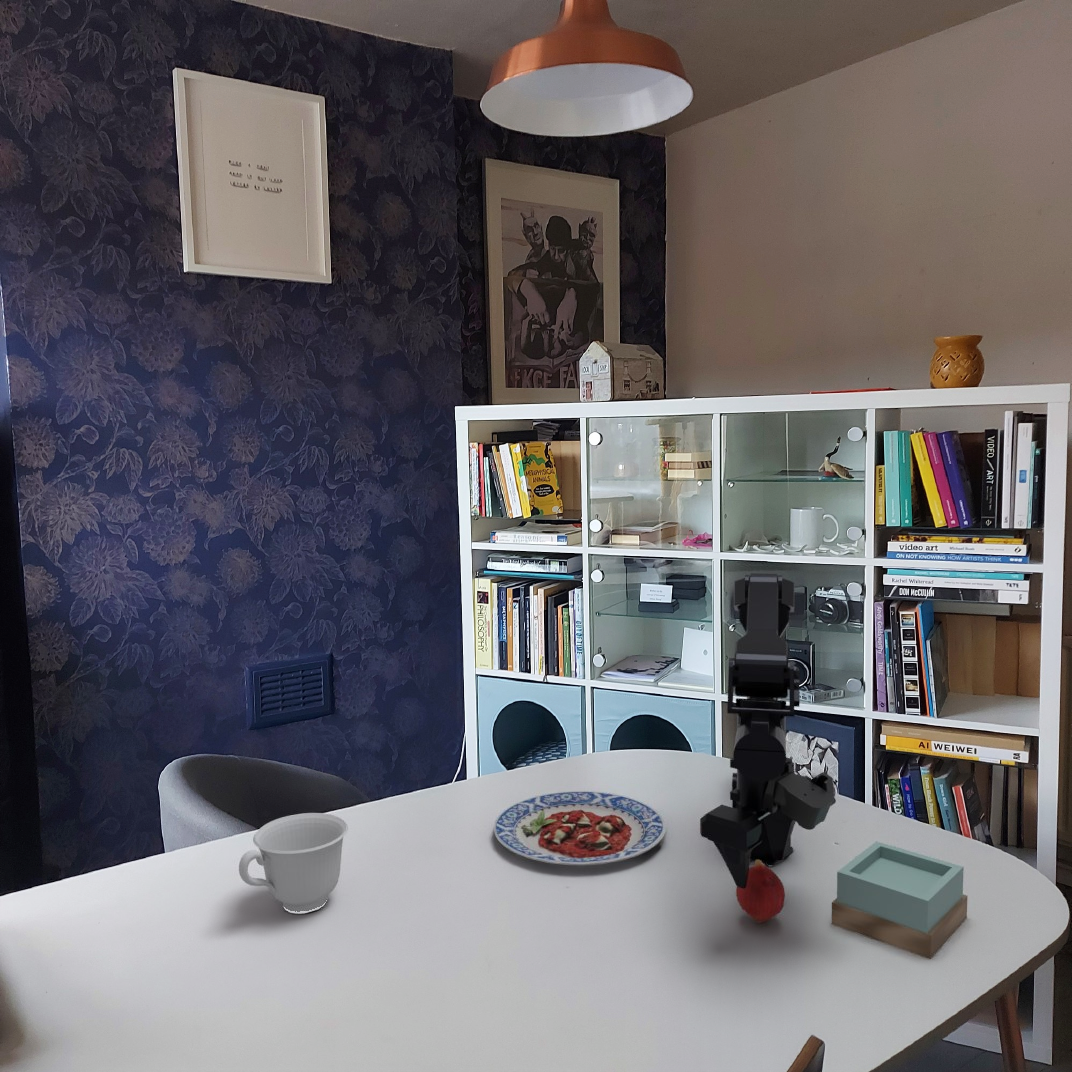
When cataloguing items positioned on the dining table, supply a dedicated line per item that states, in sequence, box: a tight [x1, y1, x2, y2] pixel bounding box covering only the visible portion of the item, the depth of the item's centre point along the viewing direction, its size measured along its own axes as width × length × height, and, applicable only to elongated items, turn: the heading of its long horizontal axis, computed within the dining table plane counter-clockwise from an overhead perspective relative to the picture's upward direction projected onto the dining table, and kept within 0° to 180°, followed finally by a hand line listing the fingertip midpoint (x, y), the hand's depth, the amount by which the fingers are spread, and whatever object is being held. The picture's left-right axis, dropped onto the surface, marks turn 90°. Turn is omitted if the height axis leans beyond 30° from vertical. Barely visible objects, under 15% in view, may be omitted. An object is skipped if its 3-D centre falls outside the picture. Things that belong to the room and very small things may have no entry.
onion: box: [735, 859, 786, 924], centre depth 118 cm, size 6×6×8 cm
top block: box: [836, 840, 964, 934], centre depth 117 cm, size 11×11×4 cm
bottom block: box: [831, 893, 968, 960], centre depth 118 cm, size 12×12×4 cm
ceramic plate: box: [493, 790, 667, 866], centre depth 144 cm, size 26×26×3 cm
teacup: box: [238, 812, 349, 912], centre depth 124 cm, size 12×15×10 cm
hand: (760, 873), depth 118 cm, fingers open, 9 cm apart
